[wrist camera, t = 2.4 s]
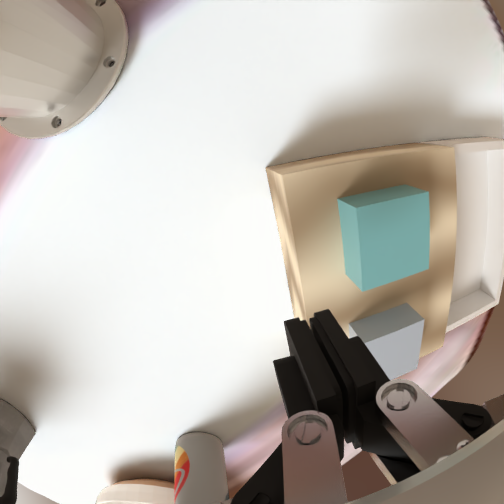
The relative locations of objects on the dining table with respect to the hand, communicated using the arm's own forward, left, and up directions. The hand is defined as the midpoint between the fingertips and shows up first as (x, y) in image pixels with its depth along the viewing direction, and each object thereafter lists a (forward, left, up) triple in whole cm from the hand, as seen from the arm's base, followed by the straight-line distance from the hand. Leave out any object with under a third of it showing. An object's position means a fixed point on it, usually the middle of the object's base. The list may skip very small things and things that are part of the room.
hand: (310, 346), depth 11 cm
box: (+4, +20, -13) cm, 24 cm away
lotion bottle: (+23, -12, -13) cm, 29 cm away
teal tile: (-1, +7, -8) cm, 11 cm away
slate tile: (+8, +7, -8) cm, 14 cm away
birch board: (+4, +8, -13) cm, 16 cm away
